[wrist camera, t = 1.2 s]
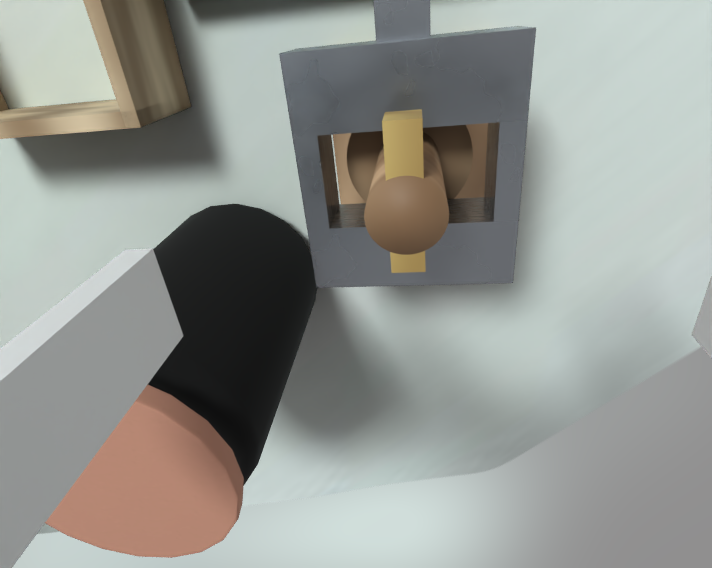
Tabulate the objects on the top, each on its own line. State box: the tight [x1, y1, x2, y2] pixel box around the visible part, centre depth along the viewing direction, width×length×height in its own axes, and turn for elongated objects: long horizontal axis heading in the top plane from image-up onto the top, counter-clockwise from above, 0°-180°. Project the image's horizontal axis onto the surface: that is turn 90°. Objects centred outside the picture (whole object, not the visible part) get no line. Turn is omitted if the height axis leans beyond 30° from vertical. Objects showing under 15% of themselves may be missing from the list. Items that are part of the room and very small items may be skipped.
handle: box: [333, 109, 488, 273], centre depth 21 cm, size 9×9×14 cm
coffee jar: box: [45, 204, 317, 558], centre depth 26 cm, size 11×11×18 cm
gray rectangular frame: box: [279, 0, 536, 288], centre depth 19 cm, size 9×12×3 cm
